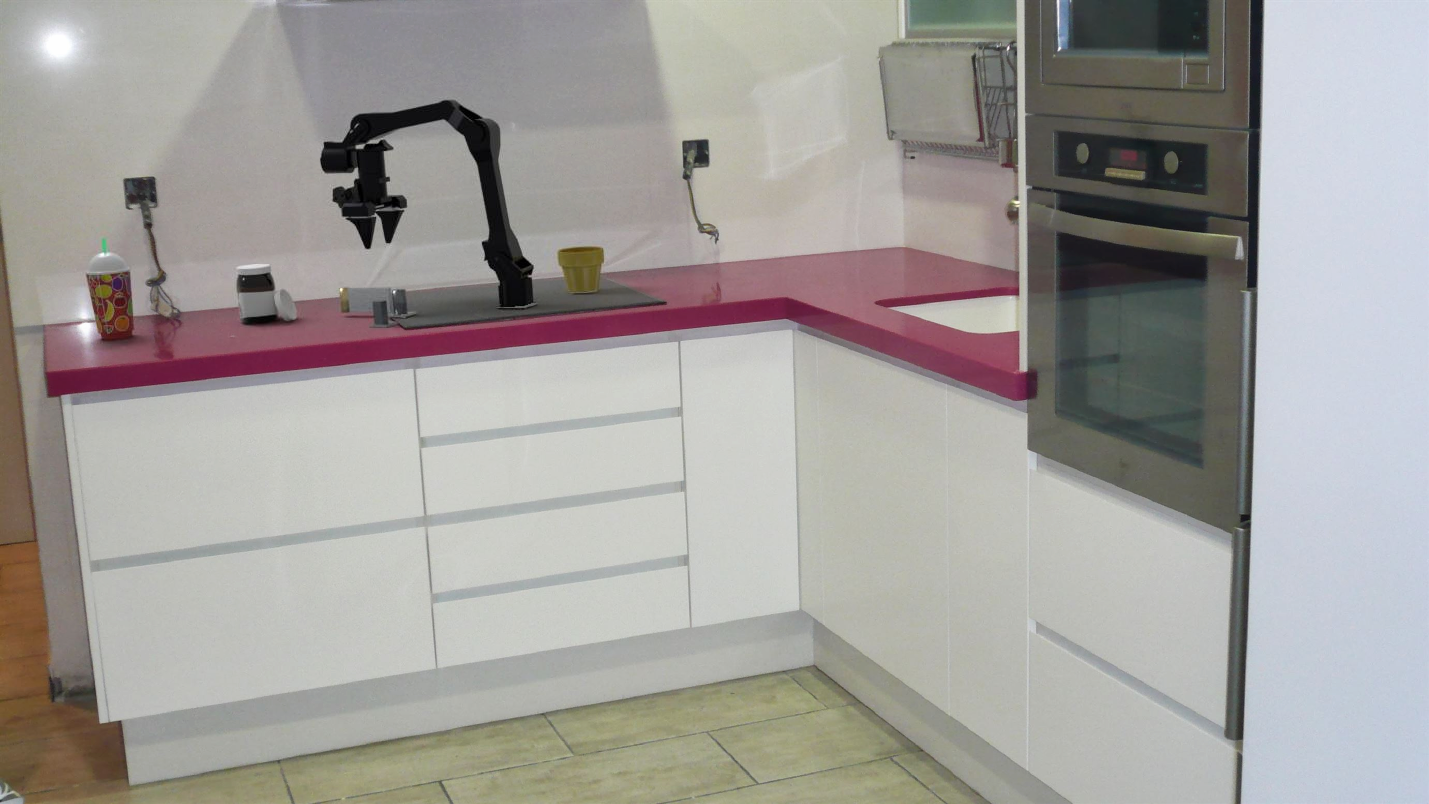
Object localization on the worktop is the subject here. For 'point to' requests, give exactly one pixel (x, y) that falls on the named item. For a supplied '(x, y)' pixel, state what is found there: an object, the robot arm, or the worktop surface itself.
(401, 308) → the hinge post
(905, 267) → the worktop surface
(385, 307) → the post
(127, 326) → the smoothie
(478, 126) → the robot arm
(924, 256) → the worktop surface
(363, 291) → the gate
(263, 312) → the spread jar
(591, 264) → the plant pot
